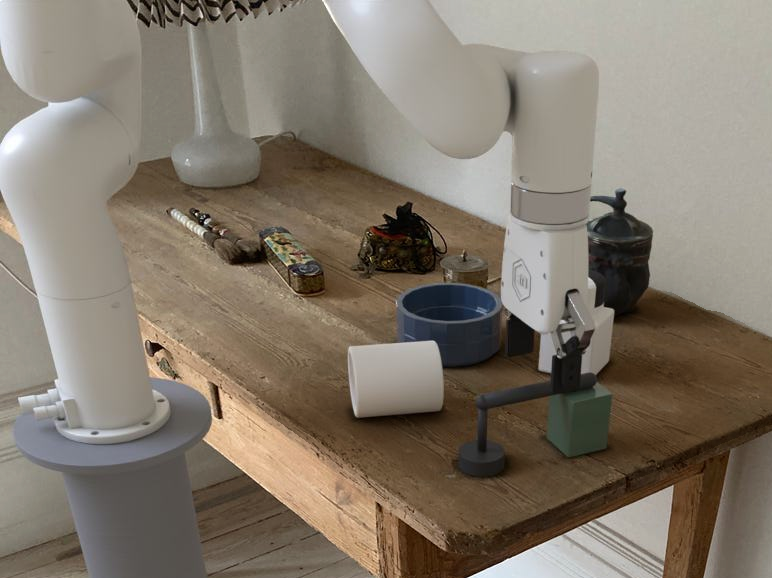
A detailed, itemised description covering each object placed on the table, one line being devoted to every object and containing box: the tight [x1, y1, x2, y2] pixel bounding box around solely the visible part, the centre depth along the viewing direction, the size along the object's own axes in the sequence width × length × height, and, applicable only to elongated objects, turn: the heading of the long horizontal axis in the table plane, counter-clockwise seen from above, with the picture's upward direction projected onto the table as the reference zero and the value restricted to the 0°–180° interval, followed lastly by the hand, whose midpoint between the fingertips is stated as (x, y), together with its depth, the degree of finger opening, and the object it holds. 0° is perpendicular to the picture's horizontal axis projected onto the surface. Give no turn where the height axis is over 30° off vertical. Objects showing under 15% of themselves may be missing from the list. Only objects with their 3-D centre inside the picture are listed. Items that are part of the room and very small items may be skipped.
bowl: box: [395, 282, 504, 368], centre depth 134 cm, size 14×14×6 cm
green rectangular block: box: [545, 381, 613, 458], centre depth 114 cm, size 5×5×7 cm
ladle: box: [458, 372, 598, 478], centre depth 111 cm, size 16×5×8 cm, turn 117°
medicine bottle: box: [537, 269, 615, 376], centre depth 128 cm, size 7×7×12 cm
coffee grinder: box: [586, 187, 654, 319], centre depth 140 cm, size 13×15×18 cm
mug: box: [347, 341, 445, 419], centre depth 120 cm, size 12×10×8 cm
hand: (541, 371), depth 108 cm, fingers open, 9 cm apart
